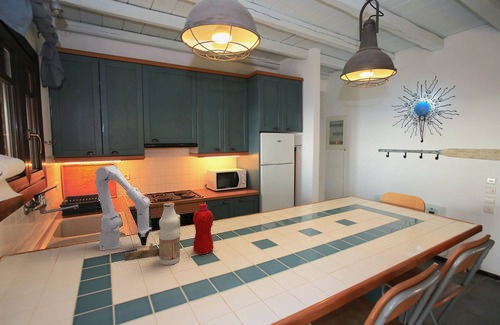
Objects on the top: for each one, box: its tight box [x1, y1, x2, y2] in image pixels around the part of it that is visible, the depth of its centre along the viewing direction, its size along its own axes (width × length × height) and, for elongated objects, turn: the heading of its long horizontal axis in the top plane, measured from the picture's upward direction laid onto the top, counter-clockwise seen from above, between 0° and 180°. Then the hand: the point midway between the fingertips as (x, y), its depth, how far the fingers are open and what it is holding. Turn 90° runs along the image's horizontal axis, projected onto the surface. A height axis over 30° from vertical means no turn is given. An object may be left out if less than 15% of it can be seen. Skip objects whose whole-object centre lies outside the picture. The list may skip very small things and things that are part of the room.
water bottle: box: [192, 203, 214, 255], centre depth 133 cm, size 9×11×25 cm
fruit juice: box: [158, 202, 181, 266], centre depth 121 cm, size 9×9×28 cm
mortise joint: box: [124, 243, 159, 261], centre depth 129 cm, size 16×9×4 cm, turn 111°
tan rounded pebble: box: [136, 245, 150, 251], centre depth 129 cm, size 6×6×3 cm
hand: (143, 245), depth 137 cm, fingers closed
